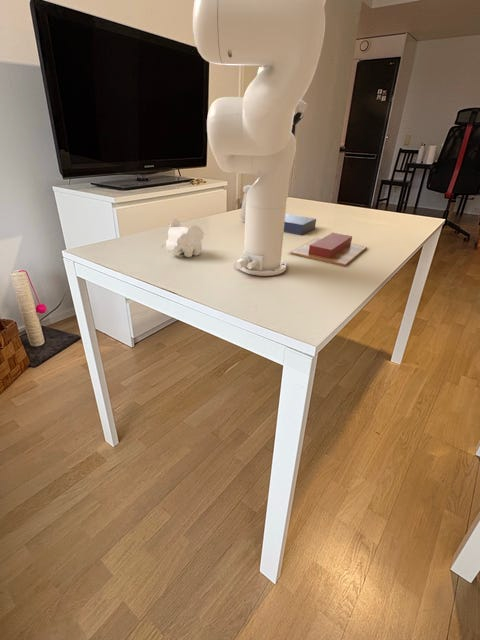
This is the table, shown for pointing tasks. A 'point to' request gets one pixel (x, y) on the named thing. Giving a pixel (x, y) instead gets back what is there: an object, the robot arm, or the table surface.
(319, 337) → the table surface
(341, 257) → the wooden board
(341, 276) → the table surface
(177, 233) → the elephant figurine
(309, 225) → the navy book
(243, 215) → the salt shaker
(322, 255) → the red rectangular block
